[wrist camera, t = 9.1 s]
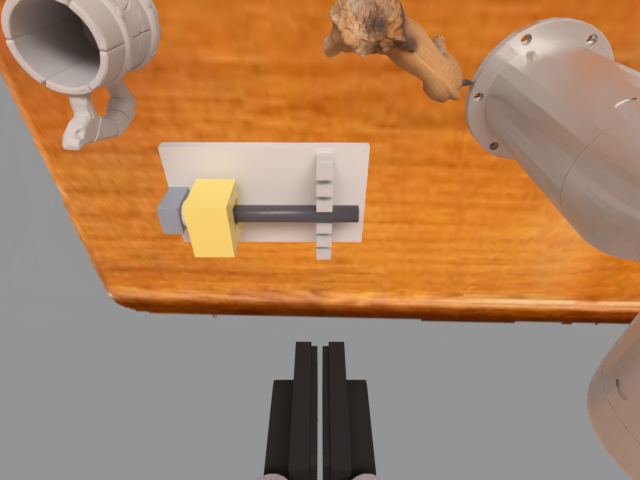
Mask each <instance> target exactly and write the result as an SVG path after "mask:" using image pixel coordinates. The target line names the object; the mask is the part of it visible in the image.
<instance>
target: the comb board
mask: <svg viewBox="0 0 640 480" xmlns="http://www.w3.org/2000/svg"><path fill="white" fill-rule="evenodd" d="M158 150H159V154H160V157H161V161H162V165H163V168H164V172H165V175H166V179H167V183H168V186H169V189H168V190H167V192H166V194H165V195H164V197H163V199H162V201H161V202H160V204H159V206H158V208H157V209H156V210H157V213H158V217H159V220H160V223H161V226H162V229H163V233H164V234H182V237H183V241H184V242H191V240H190V236H189V232H188V228H187V225H186V221H185V217H184V213H183V209H182V207H183V205H184V203H185V201H186V199H187V197H188V195H189V193H190V191H191V189H192V187H193V185H194V183H195V181H196V179H236V185H237V192H238V198H239V205H234V207H233V216H234V222H242V225H243V227H242V231H241V235H240V239H239V242H316V260H331V243H332V242H361V241H362V230H363V219H364V208H365V197H366V186H367V175H368V164H369V153H370V146H369V143H285V142H161V144H160V145H159V146H158Z"/></svg>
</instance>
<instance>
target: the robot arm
mask: <svg viewBox="0 0 640 480" xmlns="http://www.w3.org/2000/svg"><path fill="white" fill-rule="evenodd" d="M524 35H525V38H524V39H523V40H521V39H522V37H523V36H524ZM588 37H589V38H588ZM477 93H478V95H477V96H475V94H477ZM474 96H475V97H474ZM465 113H466V122H467V124H468V127H469V130H470V132H471V134H472V136H473V137H474V139H475V140H476V141H477V142H478V144H479V145H480V146H481V147H482V148H483V149H484V150H486V151H487V152H488V153H490V154H493V155H495V156H497V157H500V158H505V159H510V160H516V161H517V163H518V164H519V165H520V166H521V167H522V168H523V170H524V171H525V172H526V173H527V174H528V176H529V177H530V178H531V179H532V180H533V181H534V183H535V184H536V185H537V186H538V187H539V189H540V190H541V191H542V192H543V193H544V194H545V196H546V197H547V198H548V199H549V200H550V201H551V203H552V204H553V205H554V206H555V207H556V209H557V210H558V211H559V212H560V213H561V214H562V216H563V217H564V218H565V219H566V220H567V222H568V223H569V224H570V225H571V226H572V227H573V228H574V229H575V230H576V232H577V233H578V234H579V235H580V236H581V237H582V238H583V239H584V240H585V241H586V242H588V243H589V244H590V245H591V246H593V247H594V248H596V249H598V250H599V251H601V252H603V253H605V254H608V255H611V256H614V257H617V258H621V259H627V260H634V261H640V72H638V71H636V70H633V69H631V68H629V67H627V66H624V65H622V64H620V63H618V62H615V61H614V54H613V51H612V49H611V46H610V43H609V41H608V40H607V39H606V37H605V36H604V34H603V33H602V32H601V31H599V30H598V29H597V28H595V27H594V26H593V25H591V24H588V23H586V22H583V21H581V20H577V19H573V18H568V17H553V18H548V19H543V20H539V21H536V22H534V23H531V24H528V25H526V26H523V27H522V28H520V29H518V30H517V31H515V32H513V33H512V34H510V35H509V36H507V37H506V38H505V39H504V40H502V41H501V42H500V43H499V44H498V45H496V46H495V47H494V49H493V50H492V51H491V52H490V53H489V54H488V55H487V56H486V57H485V59H484V60H483V62H482V63H481V65H480V66H479V68H478V69H477V71H476V73H475V75H474V77H473V79H472V83H471V85H470V86H469V90H468V93H467V97H466V106H465ZM491 143H492V144H491ZM328 344H329V345H328V346H323V347H322V348H323V349H322V449H323V450H322V451H323V452H322V454H323V480H383V479H381V478H380V477H379V476H376V466H375V456H374V447H373V437H372V428H371V418H370V408H369V398H368V389H367V382H366V380H346V364H345V347H344V342H329V343H328ZM587 408H588V415H589V418H590V421H591V424H592V427H593V429H594V431H595V433H596V435H597V437H598V439H599V440H600V442H601V443H602V445H603V447H604V448H605V449H606V451H607V452H608V453H609V454H610V456H611V457H612V458H613V459H614V461H615V462H616V463H617V464H618V465H619V466H620V467H621V468H622V469H623V470H624V471H625V472H626V473H627V474H628V475H629V476H630V477H631V478H632V479H634V480H640V312H639V313H638V314H637V315H636V317H635V318H634V319H633V321H632V322H631V323H630V324H629V326H628V327H627V328H626V330H625V331H624V332H623V334H622V335H621V336H620V337H619V339H618V340H617V341H616V343H615V344H614V345H613V347H612V348H611V349H610V350H609V352H608V353H607V355H606V356H605V358H604V359H603V360H602V362H601V363H600V365H599V367H598V368H597V370H596V371H595V373H594V375H593V377H592V379H591V382H590V384H589V389H588V393H587ZM317 443H318V347H317V346H312V343H311V342H296V347H295V364H294V380H274V383H273V389H272V399H271V408H270V418H269V428H268V437H267V447H266V456H265V466H264V476H262V477H260V478H259V479H257V480H317V455H318V453H317V451H318V449H317V448H318V444H317Z"/></svg>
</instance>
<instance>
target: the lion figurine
mask: <svg viewBox="0 0 640 480" xmlns="http://www.w3.org/2000/svg"><path fill="white" fill-rule="evenodd" d="M328 13H329V14H330V17H331V20H332V23H333V28H332V30H331V33H330V35H329V36H328V37H326V38H325V40H324V53H325V55H326V56H327V57H329V58H331V57H333V56H337V55H338V54H339V53H341V52H342V51H343V52H345V53H351V52H355V53H356V54H358V55H360V56H361V57H363V58H364V57H365V55H370V54H376V53H377V54H381V55H387V56H388V57H389V58H390V59H391V60H392V61H393V62H394V63H395V64H396V65H397V66H399V67H400V68H402V69H403V70H405V71H407V72H409V73H410V74H412V75H414V76H416V77H418V78H419V79H421V80H422V81H423V90H424V92H425V93H426V95H427V96H428V97H429V98H430V99H432V100H434V101H437V102H440V103H444V102H446V101H447V100H448V99H452V100H458V99H460V91H459V89H460V88H461V87H462V86H468V85H471V83H472V81H470V80H468V79H463V76H462V71H461V68H460V66H459V63H458V62H457V60H456V59H455V58H454V57H453V56H452V55H451V54H450V53H449V52H448V51H447V48H446V44H445V39H444V37H443V36H442V35H436V36H435V37H434V38H433V39H432V40H431V38H430V37H429V36H428V34H427V33H426V32H425V30H424V29H423V28H422V27H421V26H420V25H419V24H417V23H416V22H415V21H414V20H412V19H411V18H409V17H407V14H406V12H405V10H404V9H403V7H402V4H401V2H400V0H338V2H337V3H336V4H335V5H334V6H332V7H331V9H330V10H329V11H328Z"/></svg>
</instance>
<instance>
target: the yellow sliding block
mask: <svg viewBox="0 0 640 480" xmlns="http://www.w3.org/2000/svg"><path fill="white" fill-rule="evenodd" d="M234 205H239V198H238V192H237V185H236V179H196V181H195V183H194V185H193V187H192V189H191V191H190V193H189V195H188V197H187V199H186V201H185V203H184V205H183V207H182V209H183V213H184V217H185V221H186V225H187V228H188V232H189V236H190V240H191V244H192V248H193V251H194V255H195V257H235V254H236V250H237V246H238V243H239V239H240V235H241V231H242V227H243V225H242V222H234V216H233V207H234Z"/></svg>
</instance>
